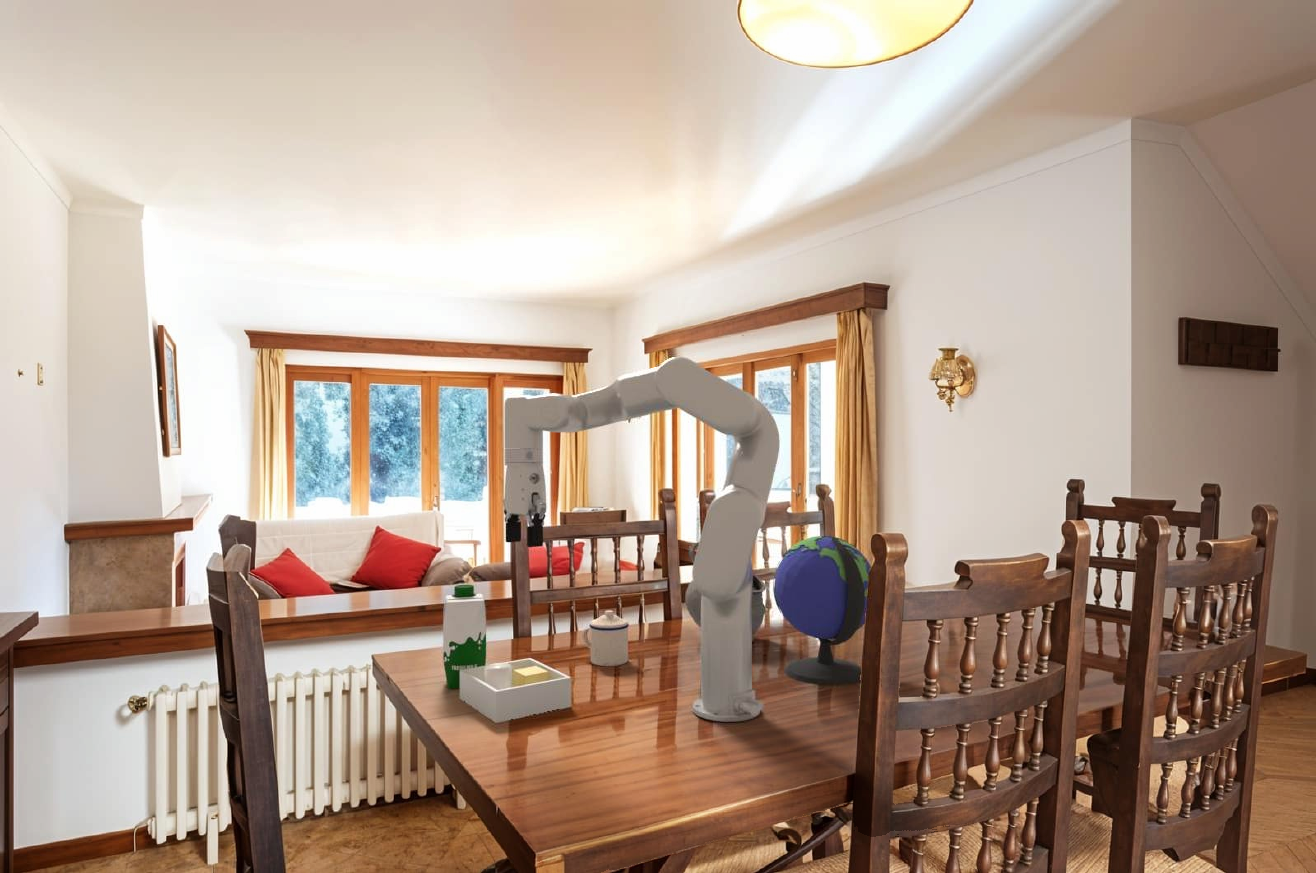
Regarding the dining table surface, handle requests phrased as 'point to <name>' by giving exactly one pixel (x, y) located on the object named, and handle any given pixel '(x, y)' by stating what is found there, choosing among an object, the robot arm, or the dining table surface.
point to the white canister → (498, 675)
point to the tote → (515, 693)
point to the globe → (823, 603)
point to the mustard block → (529, 676)
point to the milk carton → (463, 633)
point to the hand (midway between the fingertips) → (523, 544)
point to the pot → (695, 597)
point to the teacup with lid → (608, 640)
